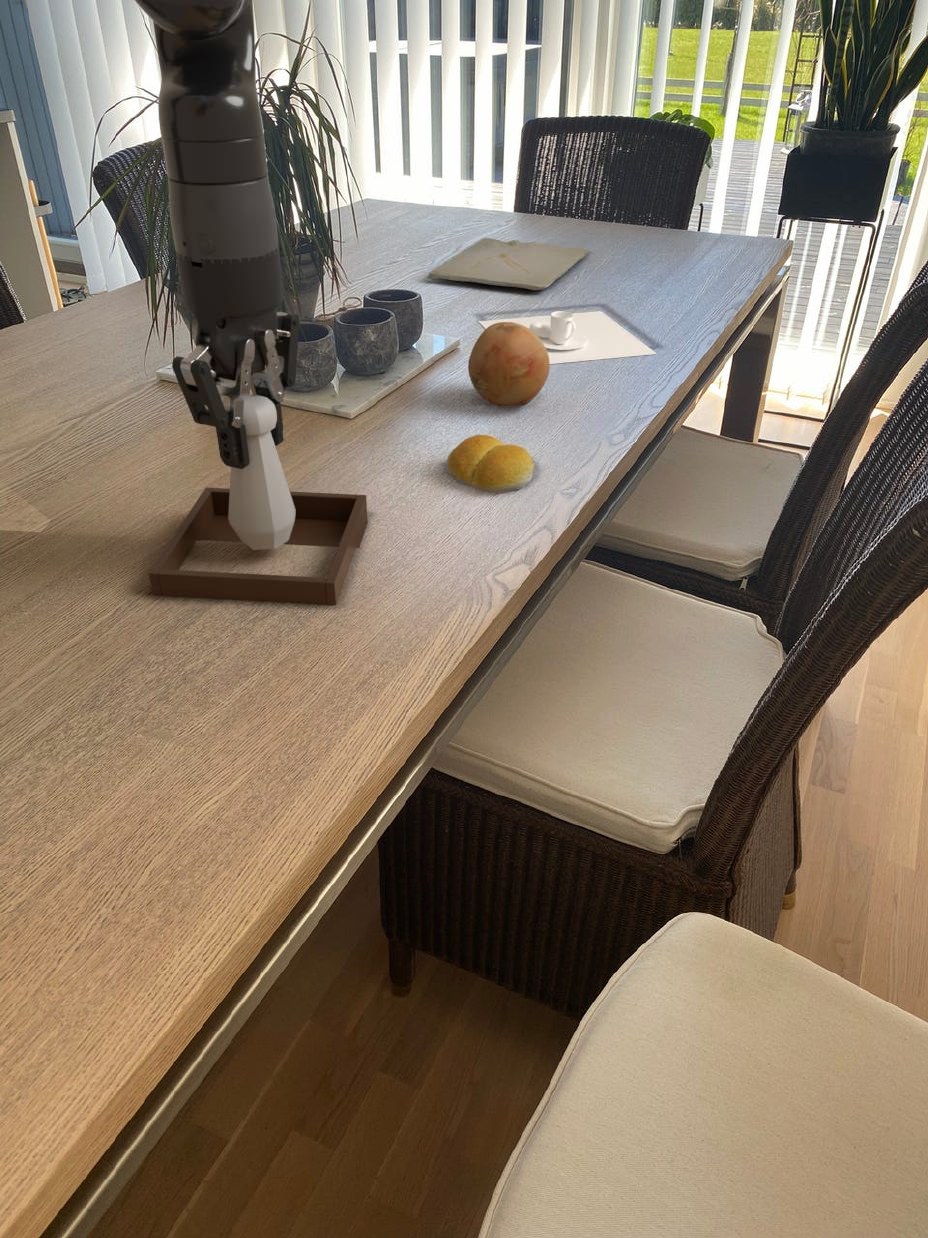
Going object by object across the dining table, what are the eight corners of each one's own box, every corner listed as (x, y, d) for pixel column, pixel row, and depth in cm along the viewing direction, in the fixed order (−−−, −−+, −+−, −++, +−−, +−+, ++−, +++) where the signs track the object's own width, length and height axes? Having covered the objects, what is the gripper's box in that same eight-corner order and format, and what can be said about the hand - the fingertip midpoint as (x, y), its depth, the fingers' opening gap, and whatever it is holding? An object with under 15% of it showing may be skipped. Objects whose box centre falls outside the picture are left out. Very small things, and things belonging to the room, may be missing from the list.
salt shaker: (222, 552, 83) (200, 411, 75) (245, 520, 87) (226, 384, 80) (287, 558, 82) (271, 416, 74) (306, 525, 87) (293, 389, 79)
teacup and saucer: (521, 334, 138) (523, 306, 135) (573, 330, 140) (575, 302, 137) (542, 355, 131) (544, 325, 128) (596, 350, 133) (598, 320, 130)
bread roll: (505, 503, 95) (506, 467, 93) (435, 478, 100) (435, 443, 97) (550, 474, 101) (552, 439, 98) (482, 451, 105) (483, 418, 103)
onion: (564, 404, 117) (570, 323, 111) (508, 427, 111) (511, 342, 105) (507, 383, 122) (509, 305, 116) (451, 403, 116) (451, 322, 111)
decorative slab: (479, 246, 180) (480, 235, 179) (589, 256, 174) (590, 245, 173) (427, 283, 159) (427, 271, 158) (549, 297, 153) (550, 285, 152)
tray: (154, 604, 80) (148, 573, 78) (210, 515, 93) (205, 487, 91) (337, 614, 79) (334, 583, 77) (367, 523, 92) (366, 494, 90)
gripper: (241, 217, 77) (265, 416, 86) (120, 258, 66) (163, 480, 76) (321, 227, 74) (336, 430, 84) (208, 271, 63) (240, 499, 73)
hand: (254, 453), depth 80 cm, fingers closed on salt shaker, 4 cm apart
